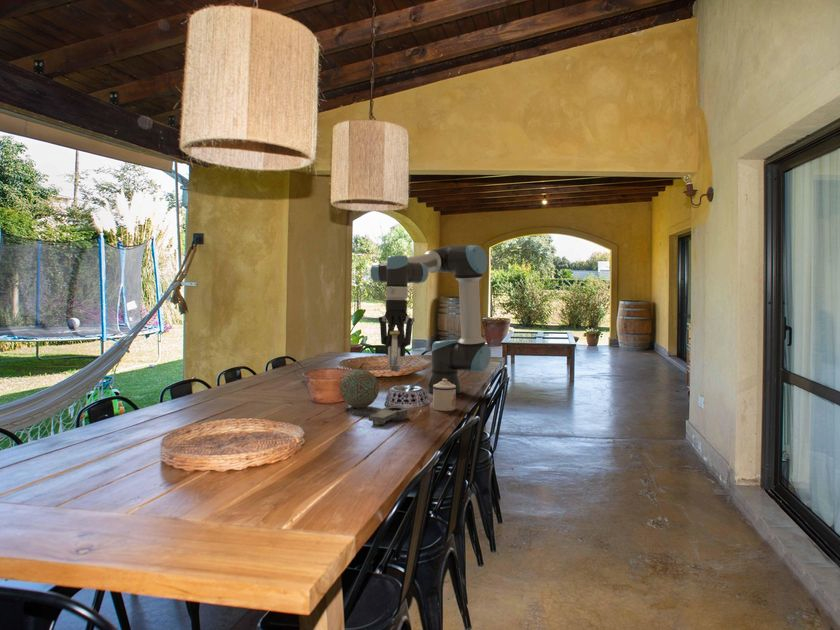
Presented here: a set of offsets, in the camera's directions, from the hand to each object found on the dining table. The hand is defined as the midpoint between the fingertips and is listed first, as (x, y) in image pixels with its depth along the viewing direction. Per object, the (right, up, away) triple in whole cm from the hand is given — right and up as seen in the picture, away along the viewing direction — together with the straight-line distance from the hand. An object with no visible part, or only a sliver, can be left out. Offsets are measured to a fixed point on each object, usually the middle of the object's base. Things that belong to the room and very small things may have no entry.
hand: (395, 364), depth 212 cm
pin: (0, -2, 0) cm, 2 cm away
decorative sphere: (-15, -18, +17) cm, 29 cm away
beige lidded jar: (+18, -19, +19) cm, 32 cm away
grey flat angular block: (-8, -19, -1) cm, 21 cm away
